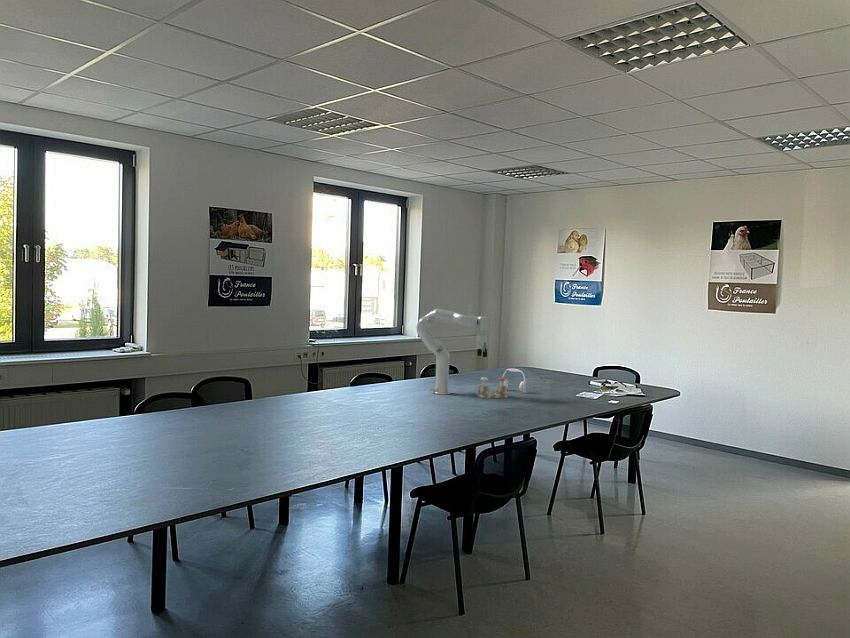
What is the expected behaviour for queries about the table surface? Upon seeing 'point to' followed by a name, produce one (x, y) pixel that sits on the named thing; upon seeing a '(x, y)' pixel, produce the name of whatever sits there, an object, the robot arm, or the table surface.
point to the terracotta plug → (501, 381)
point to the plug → (484, 381)
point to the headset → (522, 384)
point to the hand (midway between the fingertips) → (482, 356)
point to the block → (484, 393)
